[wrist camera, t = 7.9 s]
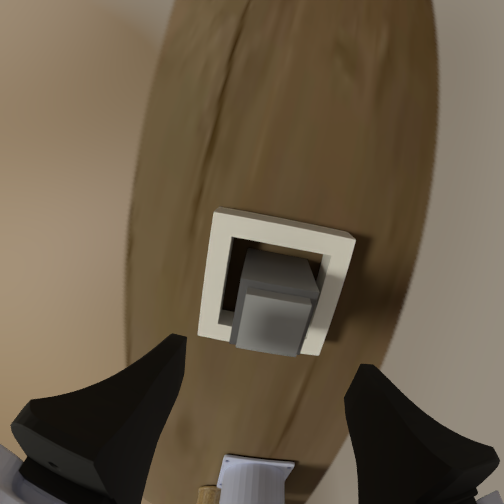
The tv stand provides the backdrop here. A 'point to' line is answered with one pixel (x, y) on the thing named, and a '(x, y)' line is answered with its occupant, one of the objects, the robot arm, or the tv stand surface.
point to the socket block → (283, 234)
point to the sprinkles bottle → (209, 495)
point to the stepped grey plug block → (274, 303)
